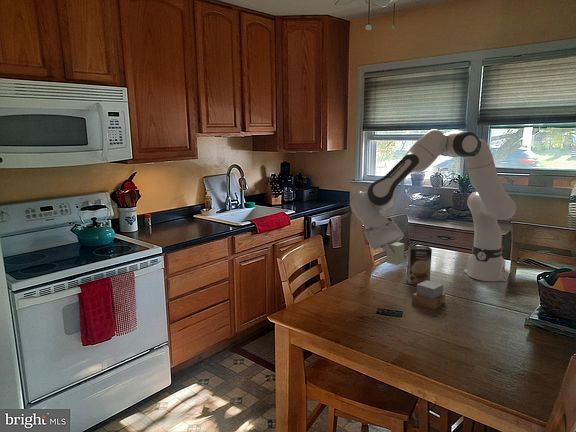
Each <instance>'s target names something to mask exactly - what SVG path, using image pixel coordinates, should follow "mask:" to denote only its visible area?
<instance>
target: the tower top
mask: <svg viewBox="0 0 576 432" xmlns="http://www.w3.org/2000/svg"><path fill="white" fill-rule="evenodd" d="M443 291H444V284H441V283H438V282H435V281H431V280H430V281H428V280H426V281H424V282H421V283H419V284H416V292H417V294H418V295H421V296H424V297H427V298H430V299H435V298H437V297H439V296H441V295H442V294H444V292H443Z"/></svg>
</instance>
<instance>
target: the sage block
mask: <svg viewBox="0 0 576 432" xmlns="http://www.w3.org/2000/svg"><path fill="white" fill-rule="evenodd" d="M399 242H400V241H399ZM399 242H391V243H388V244H387V245H388V247H389V248H390V249H393V251H394V252H395V253H394V254H393V255H389V253H388V252H386V264H390V265H394V266H399V265H402V264H403V263H405V243H402V242H400V243H399Z"/></svg>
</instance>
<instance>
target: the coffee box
mask: <svg viewBox="0 0 576 432" xmlns="http://www.w3.org/2000/svg"><path fill="white" fill-rule="evenodd" d="M432 252H433V249H432V248H431V247H430V246H429V245H408V246H407V259H406V260H407V261H406V262H407V263H406V278H405V279H406V281H407V283H408V284H409V285H412V284H413V285H417V284H419V283H421V282H424V281H426V280H428V281H431V280H430V279H431V270H432V269H431V268H432V267H431V266H432Z"/></svg>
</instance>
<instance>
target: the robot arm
mask: <svg viewBox="0 0 576 432" xmlns="http://www.w3.org/2000/svg"><path fill="white" fill-rule="evenodd" d="M440 155H441V156H443V157H450V158H451V157H452V158H461V157H462V158H463V159H464V162H465V166H466V171H467V175H468V178H469V182H470V185H471V186H472V187H473V188H474V189H475V191H473V192H471V193H470V195H468V197H467V202H466V204H467V207H468V209H469V211H470V212H471V216H472V221H473V227H474V236H473V237H474V238H473V245H472V248H471V250H472V251H471V253H472V254H470V255H469V256H468V258H467V259H468V260H467V266H466V268H465V269H464V270H463V273H464V274H466V275H467V276H468V277H469V278H472V279H474V280H478V281H484V282H507V281H508V279H509V276H510V274H511V270H510V269H507V268H506V259H504V258H503V256H502V254H503V249H504V246H501V245H502V237H503V235H502V234H503V231H502V229H501V227H500V225H499V222H498V221H499V220H500V221H506V220H509V219H511V218H512V217H513V216H514V215H515V214H516V211H517V203H516V201H515V200H513V199H512V197H510V195H509V194H508V193H507V191H506V189H505V187H504V186H503V184H502V183H501V180H500V178H499V175H498V172H497V168H496V164H495V160H494V157H493V153H492V151H491V148H490V146H489V144H488V142H487V141H486V140H485V139H482V138H479V137H478V135H477V134H476V133H474V132H472V131H469V130H453V131H446V132H443V131H441V130H439V129H434V128H433V129H430V130H429V131H427V132H426V133H424V134H423V135H421V137H420V138H419V139H417V141H416V142H414V143H413V145H412V146H411V147H410V148H409V149H408V151H407V152H406V153H405V155H404V156H403V157H402V158H401V159H400V160H399V162H397V163H396V164H395V165H394V166H393V167H392V168H391V169H390V170H389V171H388V172H387V174H385V175H384V176H383V177H381V178H379V179H377V180H375V181H373V182H372V183H371V184H370V185H369V187H368V189H367V191H358V192H357V193H355V194H354V195H353V196H352V197H351V199H350V202H349V205H350V207H351V210H352V212H353V213H354V215H355V216H356V218H357V219H358V220H360V221H361V223H362V226H363V227H364V231H363V234H364V235H365V239H366V241H367V242H368V245H370V247H371V248H372V250H375V251H376V250H379V249H382V250H384V251H385V252H386V253H387V252H388V253H389V255H393V254H394V253H395V252H394V251H393V249H390V248H389V247H388V245H387V244H388V243H391V242H399V243H401V242H400V241H401V240H402V239H403V238H404V237H405V236H404V233H403V231H402V230H401V229H400V227H399V226H398V225H397V224H396V223H395V219H393V218H392V217H388V216H385V215H382V213H384V212H386V211H388V210H390V209H392V207H393V206H394V204H395V195H394V193H395V191H396V188H397V187H398V186H399V185H400V184H401V183H402V182H403V181H404V180H405V179H406V178H407V177H408V176H409V175H410V174H411V173H422V172H425V171H426V170H427V169H428V168H429V167H431V165H433V163H434V162H435V161H436V160H437V158H439V156H440Z"/></svg>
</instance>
